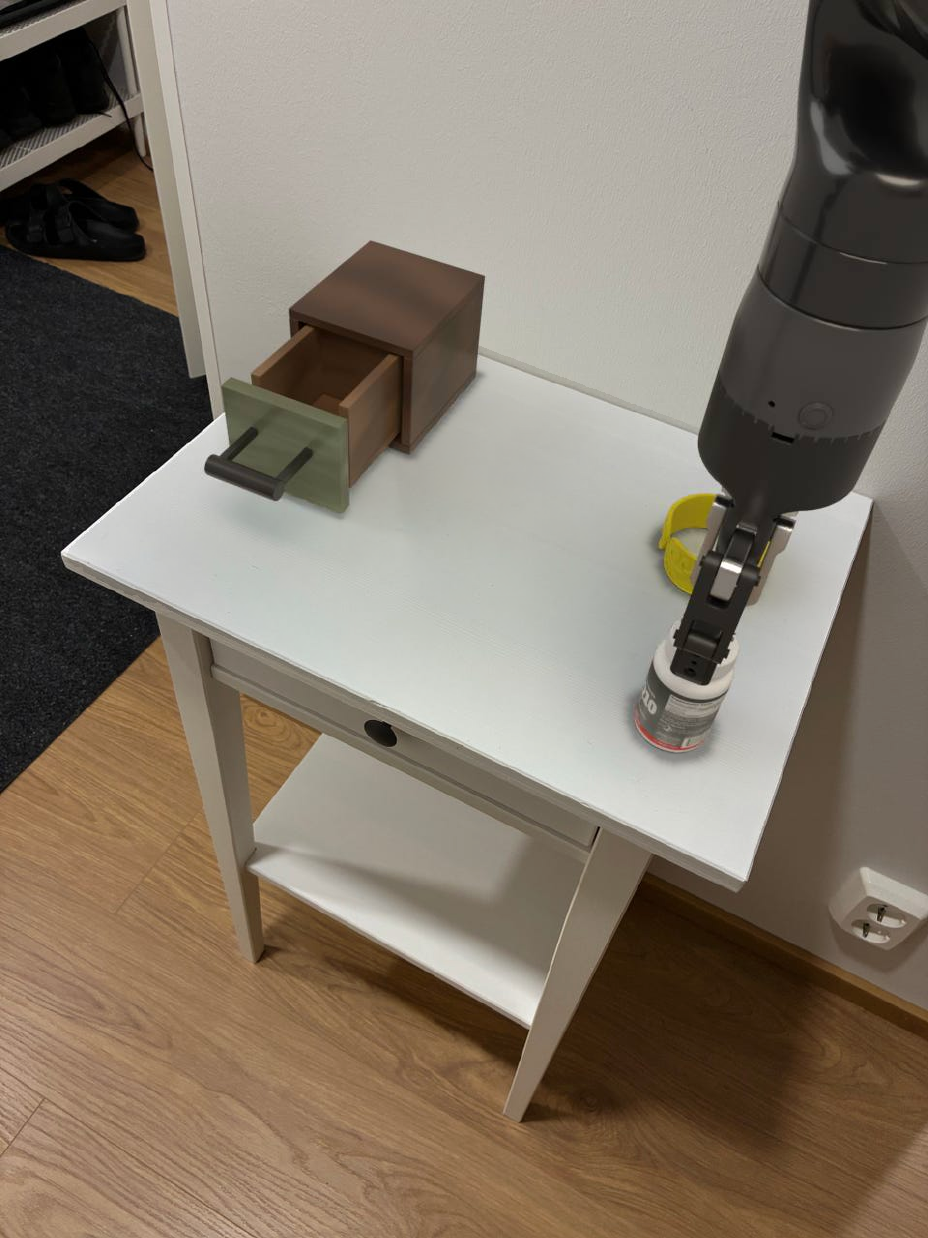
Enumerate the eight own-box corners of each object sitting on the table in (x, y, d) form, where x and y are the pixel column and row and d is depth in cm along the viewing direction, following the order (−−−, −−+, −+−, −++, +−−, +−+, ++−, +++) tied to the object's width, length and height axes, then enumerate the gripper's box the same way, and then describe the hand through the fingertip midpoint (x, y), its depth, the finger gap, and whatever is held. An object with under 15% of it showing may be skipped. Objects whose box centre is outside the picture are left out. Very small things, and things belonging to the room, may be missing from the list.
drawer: (302, 559, 67) (295, 472, 61) (189, 513, 69) (173, 425, 64) (413, 431, 78) (417, 346, 72) (313, 394, 80) (308, 309, 74)
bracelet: (741, 524, 74) (754, 492, 72) (771, 601, 69) (786, 568, 67) (649, 524, 74) (659, 491, 71) (672, 601, 68) (684, 569, 66)
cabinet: (409, 455, 77) (413, 350, 70) (295, 413, 80) (288, 308, 72) (476, 376, 85) (485, 275, 78) (370, 340, 87) (370, 239, 80)
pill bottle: (635, 688, 63) (664, 601, 57) (707, 700, 63) (744, 615, 56) (631, 747, 60) (661, 662, 54) (707, 761, 59) (746, 677, 53)
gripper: (762, 282, 47) (683, 525, 59) (677, 439, 38) (605, 687, 51) (917, 326, 45) (803, 567, 58) (865, 502, 37) (744, 743, 49)
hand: (710, 623), depth 54 cm, fingers open, 8 cm apart
